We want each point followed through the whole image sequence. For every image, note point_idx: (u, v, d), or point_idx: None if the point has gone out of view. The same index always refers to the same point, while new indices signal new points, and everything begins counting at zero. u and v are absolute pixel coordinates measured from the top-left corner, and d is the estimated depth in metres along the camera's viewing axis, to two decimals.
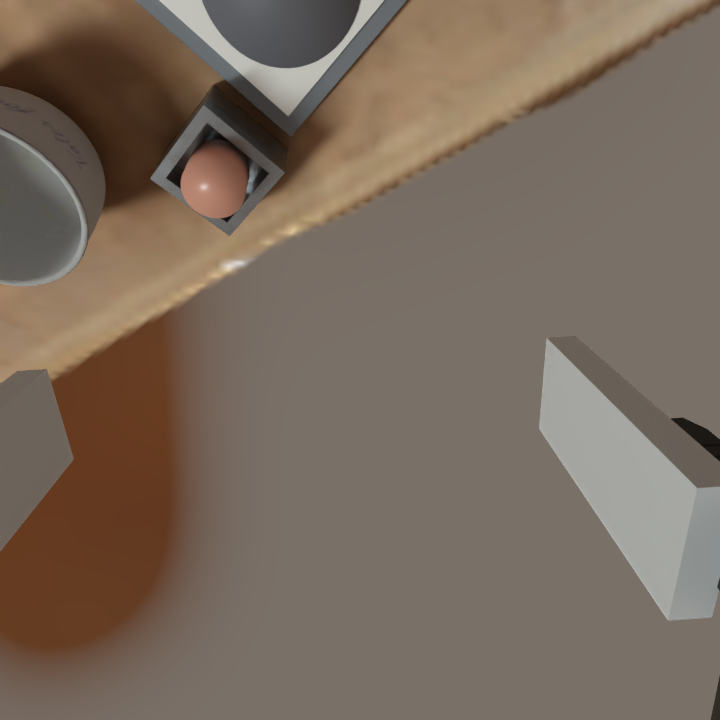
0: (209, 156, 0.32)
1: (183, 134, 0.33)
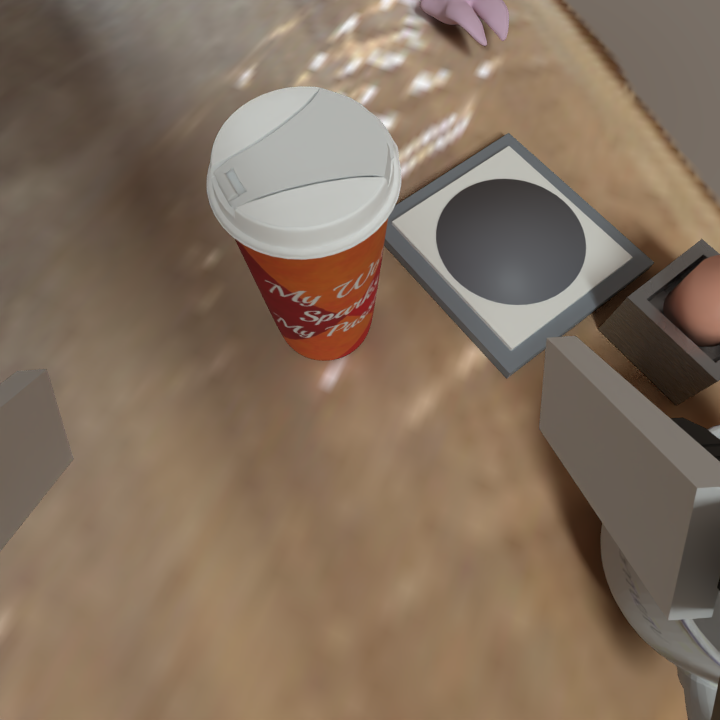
0: (689, 284, 0.28)
1: (660, 326, 0.29)
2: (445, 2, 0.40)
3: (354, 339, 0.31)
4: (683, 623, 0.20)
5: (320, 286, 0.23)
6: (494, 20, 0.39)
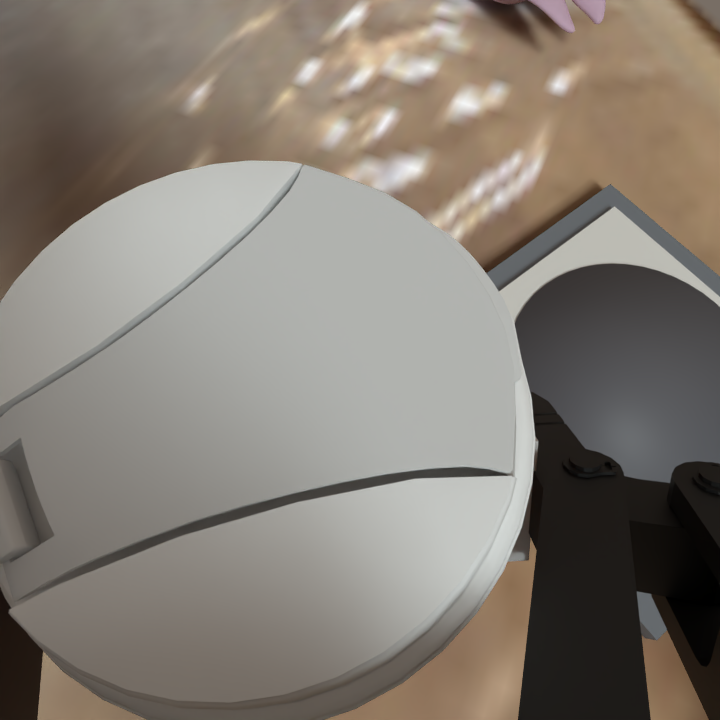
0: None
1: None
2: None
3: None
4: None
5: None
6: None
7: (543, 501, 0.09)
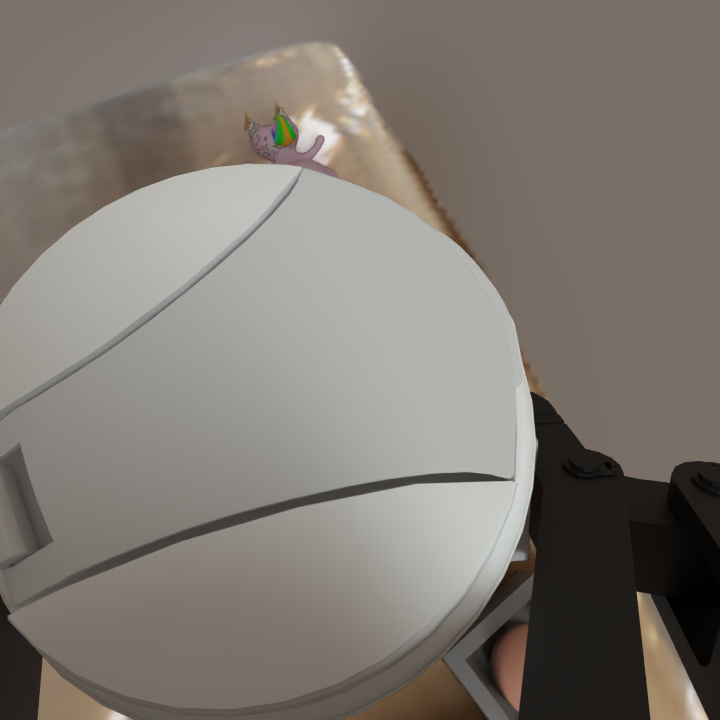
0: (503, 666, 0.23)
1: (477, 701, 0.24)
2: None
3: None
4: None
5: None
6: None
7: (543, 501, 0.09)
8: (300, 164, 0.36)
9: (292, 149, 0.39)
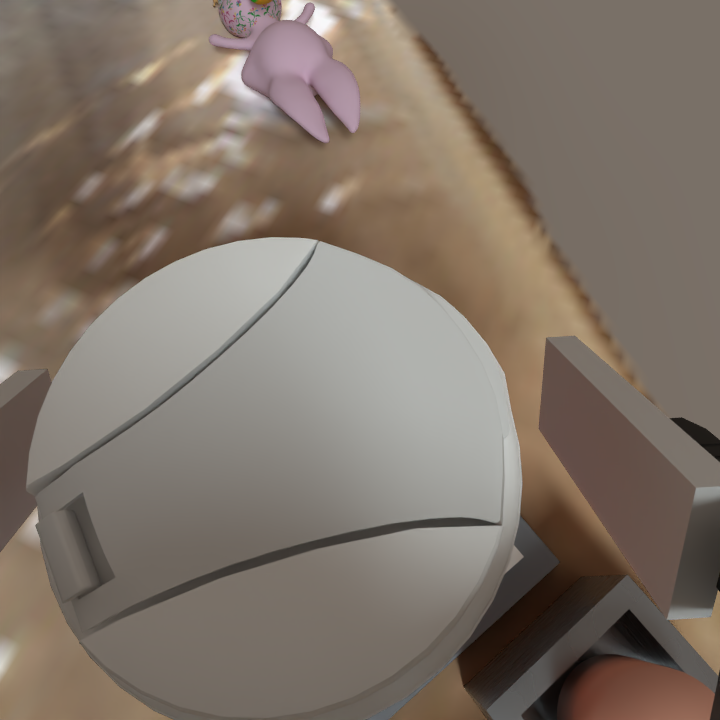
0: None
1: None
2: (269, 77, 0.27)
3: None
4: None
5: None
6: (338, 103, 0.26)
7: None
8: (283, 22, 0.27)
9: (273, 18, 0.30)
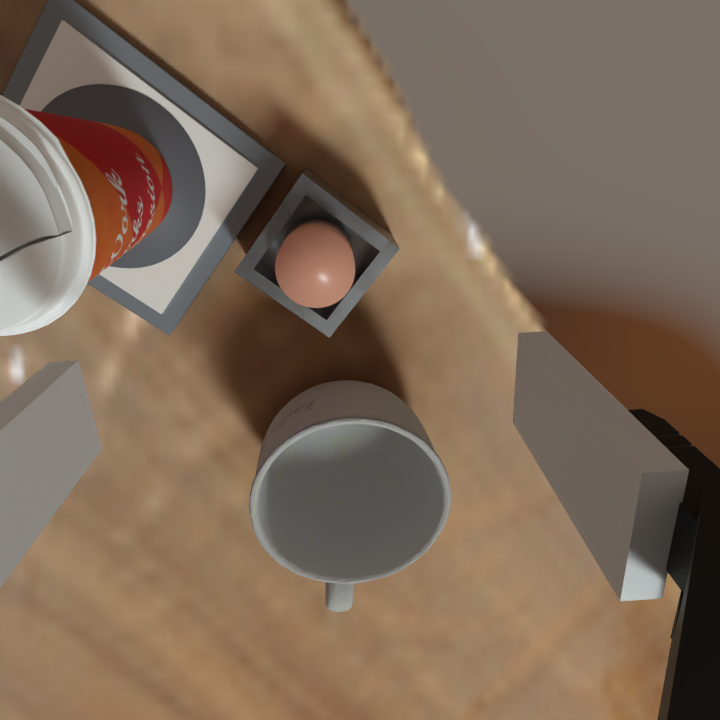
0: (276, 271, 0.27)
1: (271, 296, 0.29)
2: None
3: (157, 223, 0.28)
4: None
5: None
6: None
7: (698, 532, 0.08)
8: None
9: None
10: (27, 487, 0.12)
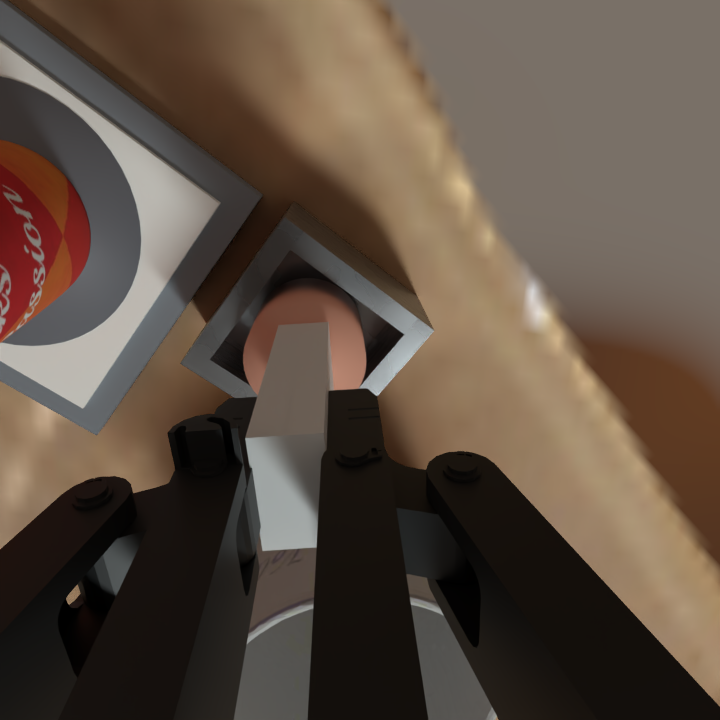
0: (245, 363, 0.17)
1: (238, 397, 0.19)
2: None
3: (62, 288, 0.18)
4: None
5: None
6: None
7: (320, 498, 0.09)
8: None
9: None
10: None
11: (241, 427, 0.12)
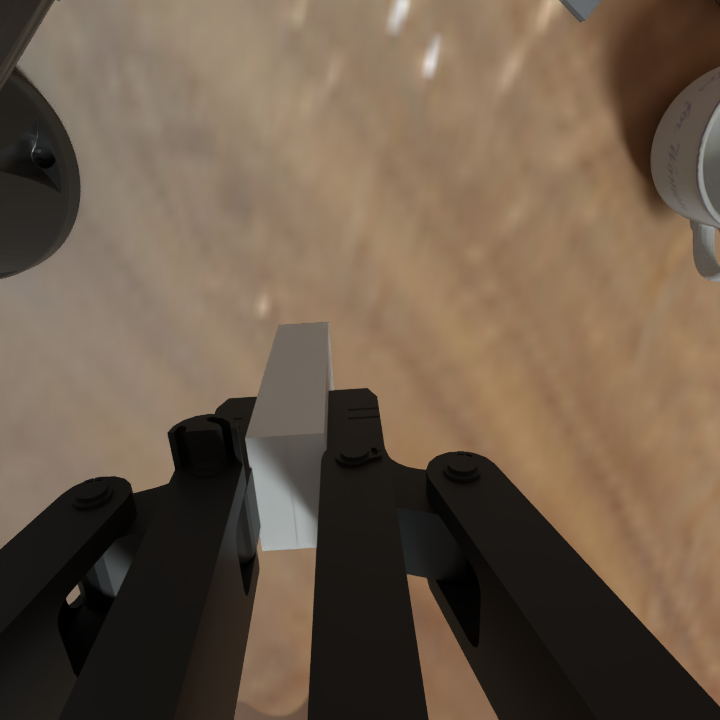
0: None
1: None
2: None
3: None
4: (706, 209, 0.34)
5: None
6: None
7: (320, 498, 0.09)
8: None
9: None
10: None
11: (241, 427, 0.12)
